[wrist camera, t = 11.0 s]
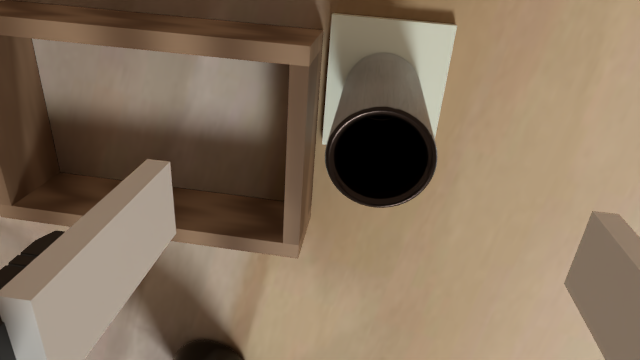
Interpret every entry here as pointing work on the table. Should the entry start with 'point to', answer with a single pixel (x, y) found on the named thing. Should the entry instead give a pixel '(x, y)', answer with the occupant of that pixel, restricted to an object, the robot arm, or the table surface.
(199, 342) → the supplement bottle
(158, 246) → the robot arm
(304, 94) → the box frame
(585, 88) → the table surface
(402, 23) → the coaster
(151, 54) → the table surface
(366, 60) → the gray cylindrical cup
